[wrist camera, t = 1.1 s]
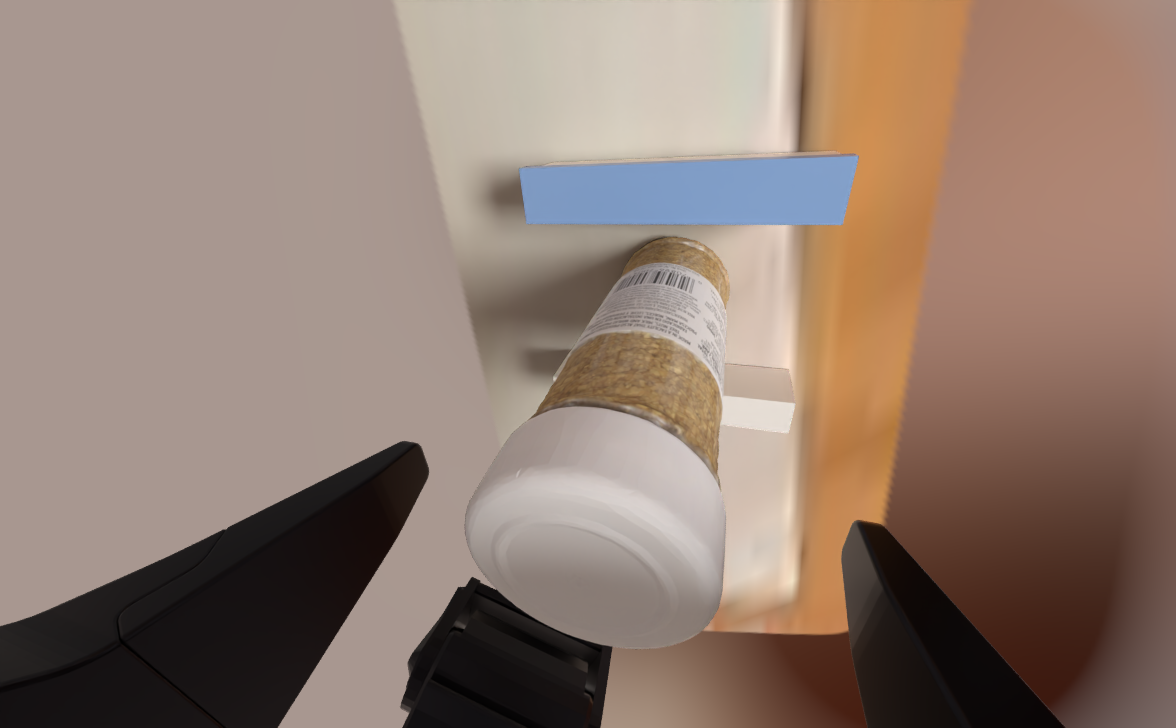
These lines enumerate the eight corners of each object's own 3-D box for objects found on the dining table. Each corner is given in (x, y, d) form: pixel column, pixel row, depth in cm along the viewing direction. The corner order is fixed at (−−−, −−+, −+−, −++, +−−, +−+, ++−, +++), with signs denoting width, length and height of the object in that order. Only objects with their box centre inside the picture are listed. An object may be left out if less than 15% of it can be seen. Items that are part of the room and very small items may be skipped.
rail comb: (783, 397, 19) (790, 443, 17) (573, 375, 22) (551, 411, 19) (928, -282, 9) (997, -421, 7) (519, -167, 12) (463, -237, 10)
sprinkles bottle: (613, 319, 19) (455, 600, 9) (635, 220, 17) (449, 442, 6) (711, 347, 19) (675, 692, 8) (749, 249, 16) (774, 558, 5)
